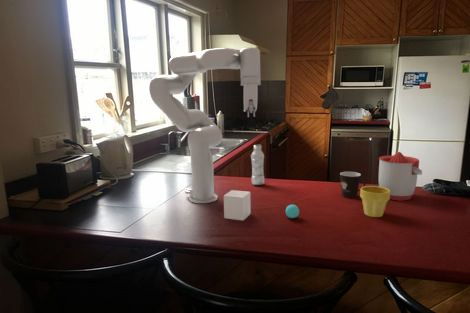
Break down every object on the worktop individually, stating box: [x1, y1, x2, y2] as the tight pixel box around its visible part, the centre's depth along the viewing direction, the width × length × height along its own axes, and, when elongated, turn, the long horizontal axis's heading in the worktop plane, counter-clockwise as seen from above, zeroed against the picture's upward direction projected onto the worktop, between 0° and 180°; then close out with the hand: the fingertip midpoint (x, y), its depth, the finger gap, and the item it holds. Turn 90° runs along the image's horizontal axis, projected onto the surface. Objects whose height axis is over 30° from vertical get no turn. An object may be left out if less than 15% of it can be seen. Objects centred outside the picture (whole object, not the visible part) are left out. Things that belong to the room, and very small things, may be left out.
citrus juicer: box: [378, 151, 423, 202], centre depth 153 cm, size 16×17×20 cm
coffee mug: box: [339, 171, 366, 199], centre depth 156 cm, size 12×9×10 cm
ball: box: [285, 204, 300, 219], centre depth 133 cm, size 5×5×5 cm
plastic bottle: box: [250, 144, 266, 186], centre depth 177 cm, size 6×7×20 cm
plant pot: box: [359, 185, 390, 218], centre depth 135 cm, size 10×10×10 cm
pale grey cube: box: [223, 189, 252, 221], centre depth 136 cm, size 8×8×9 cm
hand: (251, 126), depth 140 cm, fingers open, 9 cm apart
